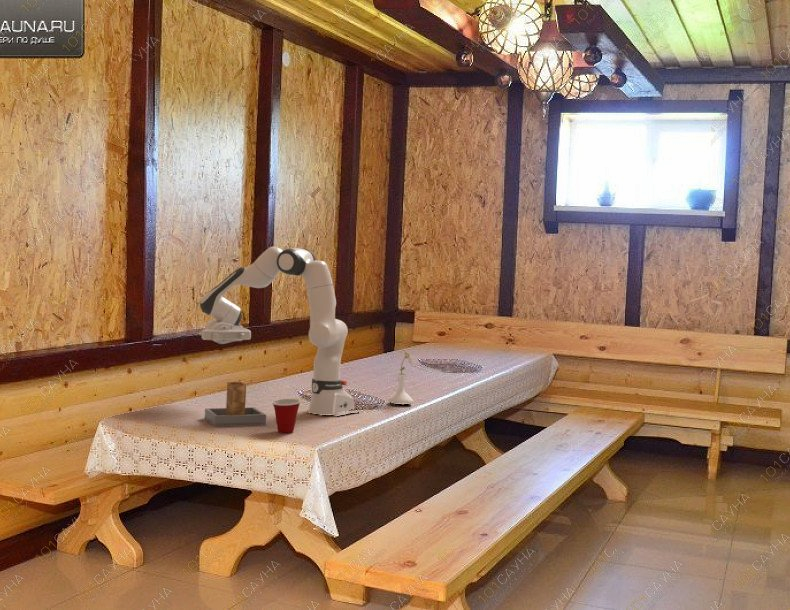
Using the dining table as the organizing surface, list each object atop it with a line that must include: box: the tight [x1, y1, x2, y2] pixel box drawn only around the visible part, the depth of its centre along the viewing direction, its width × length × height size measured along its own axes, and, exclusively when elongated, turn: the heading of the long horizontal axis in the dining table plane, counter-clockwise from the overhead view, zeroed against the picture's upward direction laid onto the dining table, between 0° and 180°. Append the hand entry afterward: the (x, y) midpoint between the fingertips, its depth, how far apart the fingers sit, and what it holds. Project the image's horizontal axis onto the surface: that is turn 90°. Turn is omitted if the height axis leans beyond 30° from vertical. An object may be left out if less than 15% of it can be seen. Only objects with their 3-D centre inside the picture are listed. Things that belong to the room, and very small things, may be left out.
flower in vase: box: [387, 347, 414, 403], centre depth 462 cm, size 13×11×25 cm
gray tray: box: [204, 406, 267, 428], centre depth 405 cm, size 20×16×4 cm
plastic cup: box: [271, 398, 301, 434], centre depth 390 cm, size 11×11×12 cm
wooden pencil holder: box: [225, 381, 247, 415], centre depth 404 cm, size 6×7×14 cm
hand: (230, 336), depth 424 cm, fingers open, 8 cm apart
